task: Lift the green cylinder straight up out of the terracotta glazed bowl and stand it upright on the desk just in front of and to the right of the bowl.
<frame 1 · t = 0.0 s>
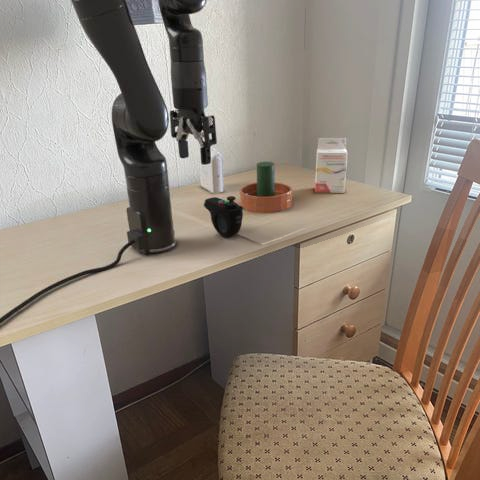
hand: (195, 160, 119), 17 cm above the table, tool pointing down, fingers open, 8 cm apart
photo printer: (212, 189, 158), on the table
ink cartridge box: (329, 191, 153), on the table
green cylinder: (265, 204, 143), resting on bowl
bowl: (265, 205, 143), on the table
controller: (224, 235, 125), on the table
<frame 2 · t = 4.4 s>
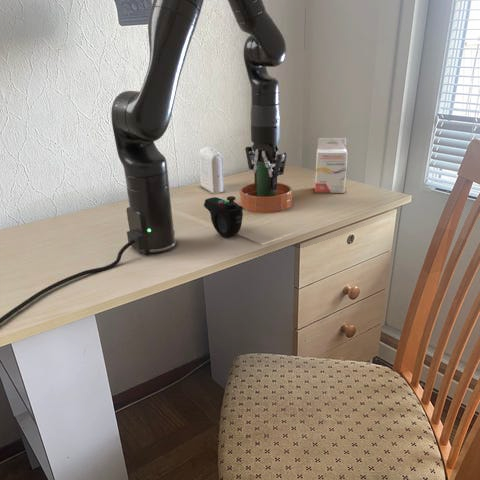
hand: (265, 187, 141), 5 cm above the table, tool pointing down, fingers closed on green cylinder, 5 cm apart
green cylinder: (265, 204, 143), resting on bowl, touching gripper
everything else where it was.
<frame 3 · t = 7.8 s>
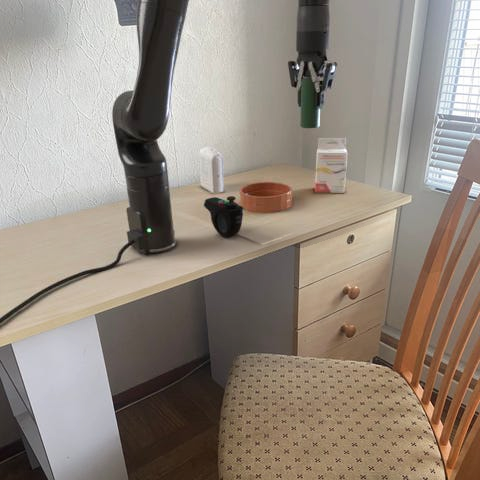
hand: (310, 107, 128), 26 cm above the table, tool pointing down, fingers closed on green cylinder, 5 cm apart
green cylinder: (309, 126, 130), point 21 cm above the table, touching gripper
everything else where it was.
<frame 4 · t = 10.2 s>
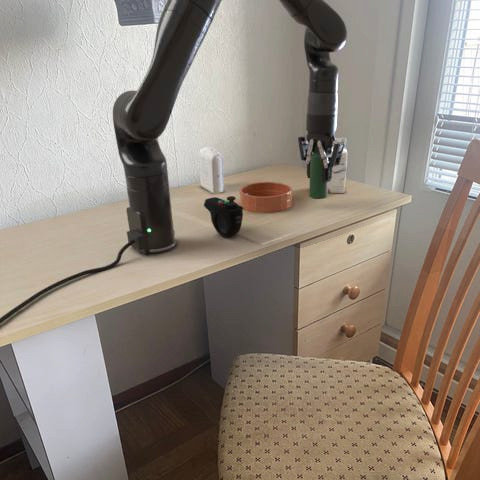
hand: (318, 179, 136), 8 cm above the table, tool pointing down, fingers closed on green cylinder, 5 cm apart
green cylinder: (318, 196, 138), point 3 cm above the table, touching gripper
everything else where it was.
when the fingers open (5 cm above the table, at t = 11.6 s): green cylinder stays where it is, on the table.
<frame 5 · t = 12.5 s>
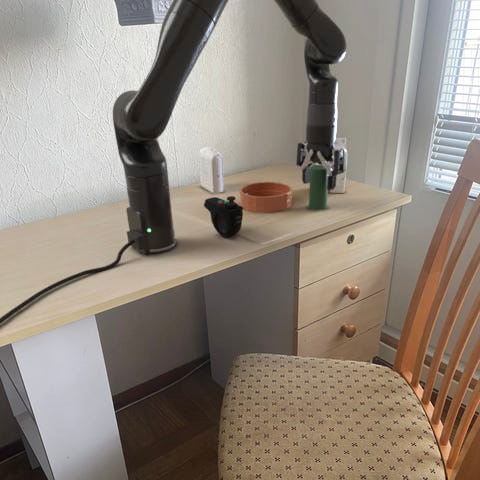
hand: (318, 186, 137), 6 cm above the table, tool pointing down, fingers open, 8 cm apart
green cylinder: (317, 208, 140), on the table
everything else where it was.
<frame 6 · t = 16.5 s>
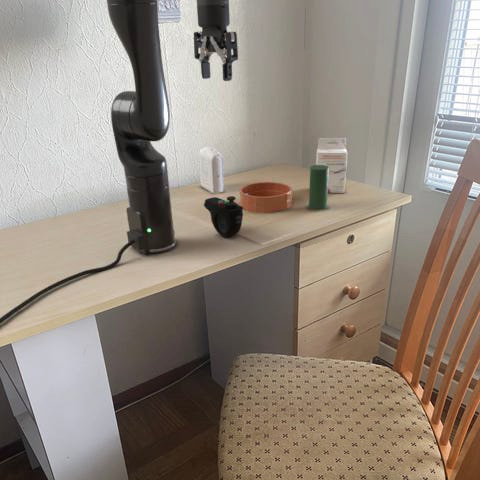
hand: (216, 79, 128), 32 cm above the table, tool pointing down, fingers open, 8 cm apart
nothing on the table moved.
at the end: green cylinder inside the target area (0.0 cm from its centre), on the table; green cylinder touching table; green cylinder tilted 0° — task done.
